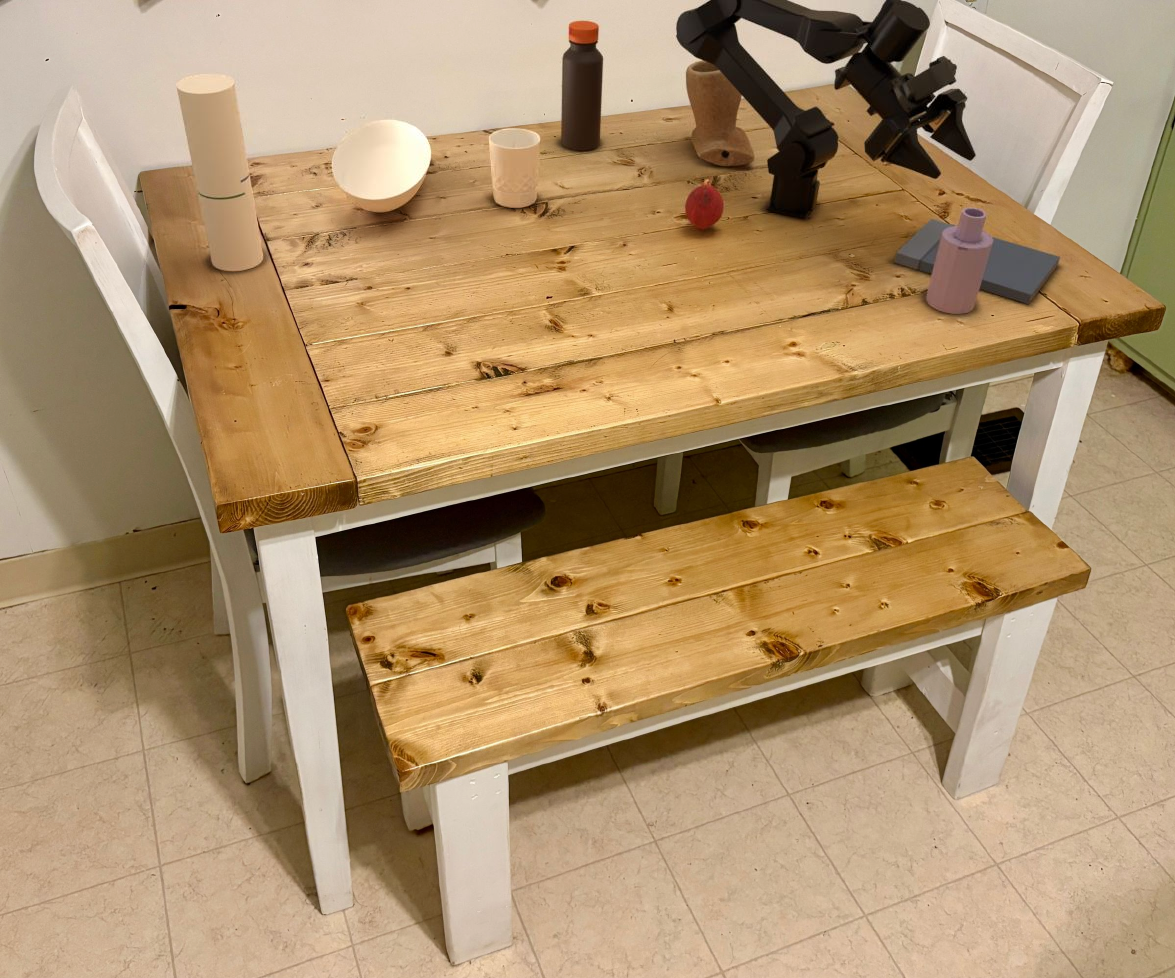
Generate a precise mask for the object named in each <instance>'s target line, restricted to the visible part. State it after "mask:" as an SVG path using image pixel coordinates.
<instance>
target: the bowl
mask: <svg viewBox="0 0 1175 978" xmlns="http://www.w3.org/2000/svg"><path fill="white" fill-rule="evenodd" d="M431 159H432V150H431V145H430V142H429V140H428V138H427V137H426V135H425V134H424V133H423V132H422V131H421V129H419V128H417V126H415V125H413V124H410V123H408V122H405V121H403V120H402V121H401V120H396V119H380V120H374V121H371V122H368V123H364V124H363V125H360V126H358V127H356V128H355V129H353V130H352V131H350V132H349V133H348V134H347V135H345V136H344V138H343V139H341V141H340V142H339V143H338V145H337V147H336V148H335V150H334V152H333V156H332V160H331V161H332V162H331V171H332V176H333V178H334V180H335V183H336V184H337V185H338V187H339V189H340V191H341V192H342V193H343V194H344V196H345V197H346V198H347V199H348V200H349V201H350V202H351V203H352V204H354V205H355V206H356V207H358V208H360V209H362V210H365V211H369V212H373V213H388V212H392V211H394V210H397V209H399V208H400V207H402V206H404V205H405V204H407V203H408V202H409V201H410V200H411V199H412V198H413V197H414V196H415V195H417V192H418V191H419V190H420V188H421V186H422V184H423V182H424V180H425V178H426V176H427V173H428V170H429V168H430V165H431Z"/></svg>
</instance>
